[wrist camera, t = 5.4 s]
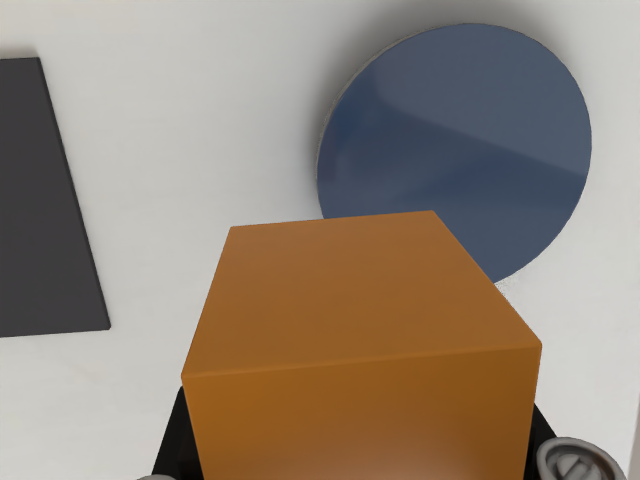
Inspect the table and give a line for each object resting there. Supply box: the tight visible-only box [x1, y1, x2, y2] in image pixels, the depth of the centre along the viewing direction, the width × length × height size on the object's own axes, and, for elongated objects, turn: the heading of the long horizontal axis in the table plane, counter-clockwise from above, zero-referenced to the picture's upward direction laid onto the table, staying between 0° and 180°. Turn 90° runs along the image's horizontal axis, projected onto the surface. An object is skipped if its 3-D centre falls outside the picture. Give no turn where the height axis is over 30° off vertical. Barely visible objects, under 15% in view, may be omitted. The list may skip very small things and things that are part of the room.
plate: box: [316, 23, 592, 284], centre depth 26 cm, size 15×15×2 cm
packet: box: [181, 210, 542, 480], centre depth 10 cm, size 8×4×5 cm, turn 4°
